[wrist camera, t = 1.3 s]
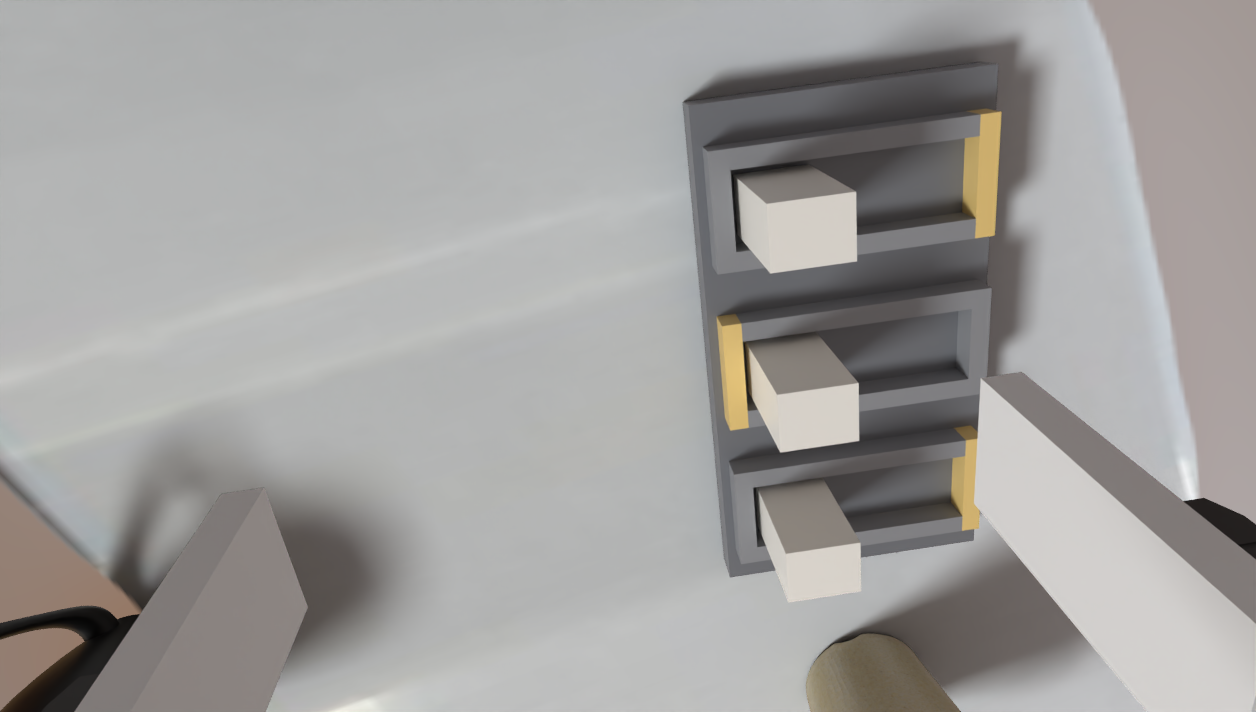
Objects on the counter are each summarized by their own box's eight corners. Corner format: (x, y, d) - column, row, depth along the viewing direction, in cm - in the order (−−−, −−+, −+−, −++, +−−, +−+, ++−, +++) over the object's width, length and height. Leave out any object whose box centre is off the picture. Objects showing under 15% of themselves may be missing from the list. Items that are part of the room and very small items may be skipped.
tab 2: (744, 340, 35) (777, 394, 30) (814, 330, 35) (858, 383, 30) (748, 390, 36) (780, 452, 31) (816, 381, 36) (859, 441, 31)
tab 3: (754, 481, 37) (786, 553, 32) (819, 472, 37) (860, 542, 32) (757, 525, 38) (788, 602, 33) (820, 515, 38) (861, 591, 33)
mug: (139, 504, 37) (10, 654, 28) (271, 691, 42) (195, 870, 33) (-24, 562, 38) (-200, 727, 29) (124, 741, 42) (11, 930, 33)
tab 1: (733, 174, 32) (766, 204, 27) (808, 164, 32) (856, 191, 27) (737, 234, 33) (770, 273, 28) (810, 224, 33) (857, 261, 28)
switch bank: (682, 101, 32) (693, 108, 30) (979, 62, 33) (1014, 65, 30) (724, 558, 41) (735, 593, 38) (959, 522, 41) (985, 555, 39)
